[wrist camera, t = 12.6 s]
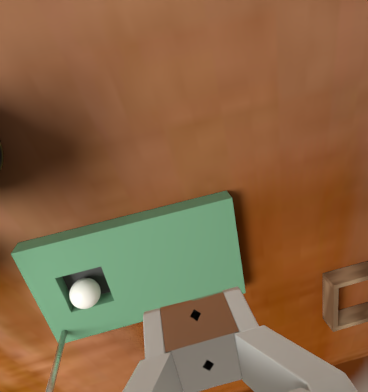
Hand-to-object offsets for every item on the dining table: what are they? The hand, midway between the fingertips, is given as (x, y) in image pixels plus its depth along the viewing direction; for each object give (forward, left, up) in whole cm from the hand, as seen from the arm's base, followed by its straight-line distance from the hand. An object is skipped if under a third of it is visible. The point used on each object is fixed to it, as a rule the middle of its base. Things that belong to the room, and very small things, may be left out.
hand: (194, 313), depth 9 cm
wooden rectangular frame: (-29, +34, -29) cm, 53 cm away
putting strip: (+5, +18, -29) cm, 35 cm away
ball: (+13, +18, -27) cm, 35 cm away
